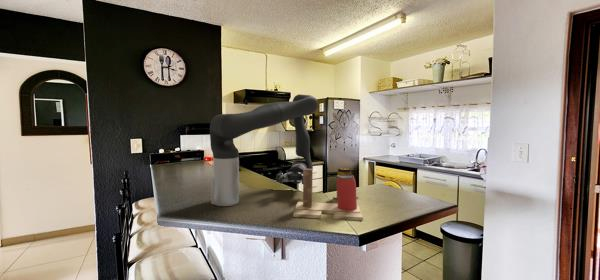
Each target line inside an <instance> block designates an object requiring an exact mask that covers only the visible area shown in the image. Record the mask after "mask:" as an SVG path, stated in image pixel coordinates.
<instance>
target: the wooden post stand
mask: <svg viewBox="0 0 600 280" xmlns="http://www.w3.org/2000/svg"><path fill="white" fill-rule="evenodd" d="M313 172H314V168H313V169H306V168H304V170H303V184H302V185H303V186H302V201H297V203H296V205H295V208H294V210H310V211H322V214H333V215H334V212H351V213H362V211H361V208H360V206H359V204H357V209H356V210H351V211H347V210H341V209H339V208H338V203H332V202H331V203H329V202H313V176H314V175H313V174H314V173H313Z"/></svg>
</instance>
